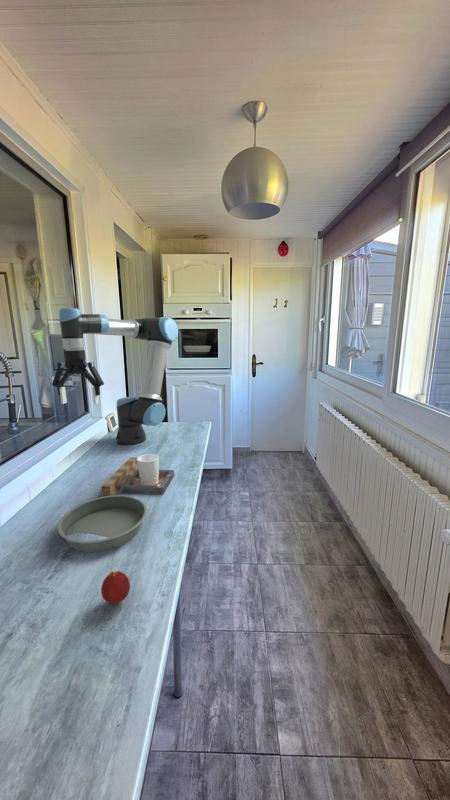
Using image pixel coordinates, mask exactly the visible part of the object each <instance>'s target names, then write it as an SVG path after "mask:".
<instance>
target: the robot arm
mask: <svg viewBox="0 0 450 800" xmlns="http://www.w3.org/2000/svg"><path fill="white" fill-rule="evenodd" d="M58 313H59V314H58V316H59V317H58V318H59V324H60V331H61V341H62V349H63V350H64V351H63V356H64V360H65V362H63V361H60V362H58V363H57V368H56V372H55V374H54V378H53V380H52V383H51V386H53V387H56V388H57V393H58V396H60V404H61V405H64V404H67V403H68V399H67V392H66V386H64V385H65V383H66V382H67V381H68V379H69V378H70V376H71V375H75V374H76V375H82V376H84V378H85V379H86V380H87V381H88V382H89V383H90V384H91V385H92V386H93V387H92V398H93V405H97V404H99V403H100V399H99V396H100V395H101V390H100V389H101V386H104V385H105V383H104V381H103V379H102V377H101V375H100V374H99V372H98V371H97V368H96V366H95V363H94V361H90V362H87V361H86V359H87V358H86V350H85V342H84V341H85V340H84V335H103V336H120V337H127V338H130V339H135V340H142V341H143V340H144V341H147V343H148V345H149V346H150V347H149V352H148V359H147V363H146V371H145V377H144V383H143V388H142V389H143V390H142V393H141V394H140V395H134V396H133V395H132V396H126V397H122V398H119V399H117V400H116V414H117V422H118V429H117V432H116V437H115V439H116V440H115V441H116V444H118V445H120V446H121V445H122V446H131V445H138V444H141V443H143V442H145V441H146V440H147V434H146V432H145V430H144V427H143V425H145V426H148V427H156V426H158V425H160V424H161V423H162V422H163V420H164V419H165V416H166V407H165V405H164V404H163V399H162V397H161V392H162V388H163V387H162V385H163V379H164V373H165V367H166V363H167V361H166V360H167V356H168V354H167V353H168V350H169V349H170V348H171V347H172V343H173V342H175V341H176V339H177V338H178V337H179V328H178V325H177V323H176V321H175V320H174V319H173V318H171V317H167V316H166V317H165V316H161V317H159V316H158V317H146V318H145V317H144V318H130V319H128V320H126V319H118V318H117V319H115V318H109V317H107V316H106V315H105V314H102V313H101V314H100V313H91V314H90V313H82V311H81V309H80V308H76V307H65V308H63V307H62V308H60V309H59V311H58ZM64 368H66V370H65V369H64ZM87 368H88V369H87ZM64 370H65V372H64ZM89 371H90V372H89ZM63 372H64V373H63Z"/></svg>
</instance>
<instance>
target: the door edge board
mask: <svg viewBox="0 0 450 800" xmlns="http://www.w3.org/2000/svg"><path fill="white" fill-rule="evenodd" d="M137 458H138V457H130V456H129V457H128V459H127V460H126V461H125V462H124V463H123V464H122V465H121V466H120V467H119V468H118V469H117V470H116V471H115V472H114V473H113V474H112V475H111V476H110V477H109V478H108V479H107V480H106V481H105V482H104V483H103V484H102V485H101V497H105V496H113V495H118V493H119V492H120V490H121V489H123V485H124V484H125V483H126V482H127V481H128V480H129V478H130V477H131V476H132V475H133V474H134V473H135V471H136V470H137V469H138V463H137Z"/></svg>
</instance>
